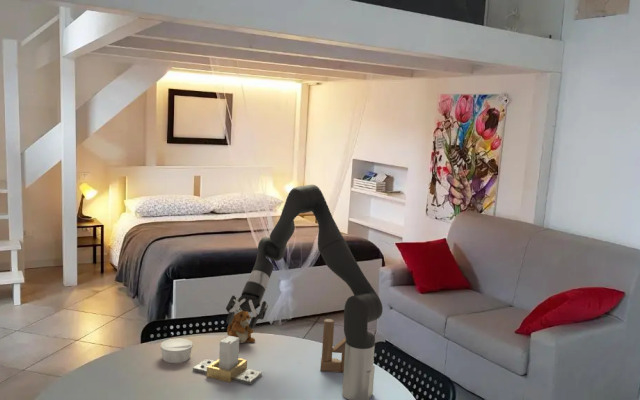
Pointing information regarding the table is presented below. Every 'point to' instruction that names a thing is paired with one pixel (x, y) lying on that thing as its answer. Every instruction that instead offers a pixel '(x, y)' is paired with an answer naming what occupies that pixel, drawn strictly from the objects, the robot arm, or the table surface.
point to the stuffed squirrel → (241, 327)
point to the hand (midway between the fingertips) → (239, 326)
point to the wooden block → (331, 349)
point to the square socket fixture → (235, 374)
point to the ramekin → (176, 350)
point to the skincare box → (229, 353)
